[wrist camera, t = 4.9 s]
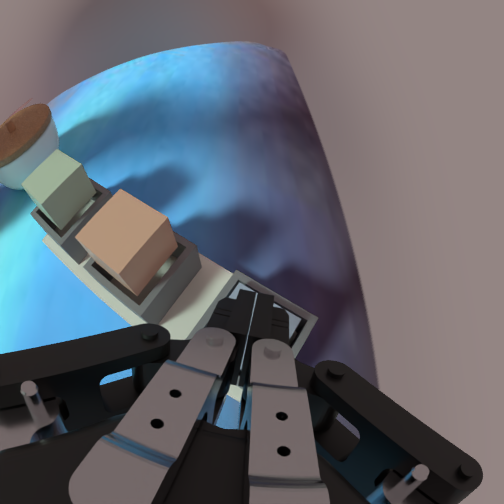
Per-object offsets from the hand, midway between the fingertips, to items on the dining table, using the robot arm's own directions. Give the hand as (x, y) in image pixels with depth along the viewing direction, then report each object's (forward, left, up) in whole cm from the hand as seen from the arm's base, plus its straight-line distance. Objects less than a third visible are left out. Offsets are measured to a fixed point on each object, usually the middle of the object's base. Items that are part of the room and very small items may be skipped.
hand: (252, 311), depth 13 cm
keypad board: (-9, -3, -10) cm, 14 cm away
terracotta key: (-9, -3, -5) cm, 11 cm away
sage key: (-18, -6, -5) cm, 20 cm away
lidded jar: (-33, -10, -11) cm, 36 cm away
